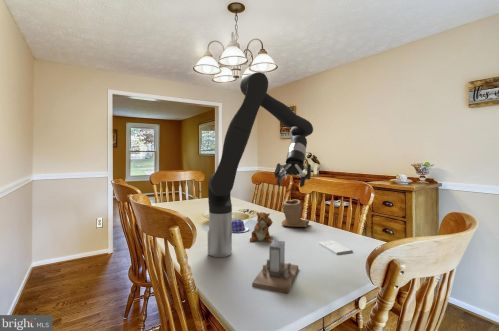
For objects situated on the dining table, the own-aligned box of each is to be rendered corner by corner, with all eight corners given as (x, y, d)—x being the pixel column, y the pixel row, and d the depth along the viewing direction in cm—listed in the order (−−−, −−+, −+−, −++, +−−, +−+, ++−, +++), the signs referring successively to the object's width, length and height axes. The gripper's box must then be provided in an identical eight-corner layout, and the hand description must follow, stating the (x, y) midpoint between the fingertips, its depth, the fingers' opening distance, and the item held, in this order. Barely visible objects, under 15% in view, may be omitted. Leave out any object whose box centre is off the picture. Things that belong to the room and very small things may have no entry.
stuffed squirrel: (248, 242, 115) (249, 214, 114) (254, 233, 129) (254, 207, 128) (270, 244, 113) (270, 215, 113) (273, 234, 127) (274, 208, 126)
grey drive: (274, 268, 87) (274, 240, 86) (284, 270, 85) (284, 241, 85) (269, 276, 81) (269, 246, 80) (279, 278, 80) (280, 247, 79)
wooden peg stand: (268, 263, 93) (268, 252, 93) (298, 268, 89) (298, 257, 89) (252, 286, 77) (252, 272, 77) (287, 293, 73) (287, 279, 73)
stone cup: (280, 228, 137) (280, 201, 136) (282, 222, 148) (283, 197, 148) (308, 230, 133) (309, 202, 132) (309, 224, 145) (309, 198, 144)
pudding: (242, 225, 142) (242, 216, 142) (252, 231, 132) (252, 221, 132) (222, 228, 137) (222, 219, 136) (232, 235, 126) (232, 224, 126)
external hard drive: (336, 256, 102) (318, 245, 114) (352, 253, 105) (333, 243, 116) (336, 252, 102) (318, 241, 113) (352, 250, 104) (333, 240, 116)
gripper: (278, 149, 107) (270, 178, 97) (312, 149, 102) (307, 180, 92) (281, 161, 112) (273, 190, 102) (313, 162, 107) (309, 192, 97)
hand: (290, 185), depth 97 cm, fingers open, 8 cm apart
